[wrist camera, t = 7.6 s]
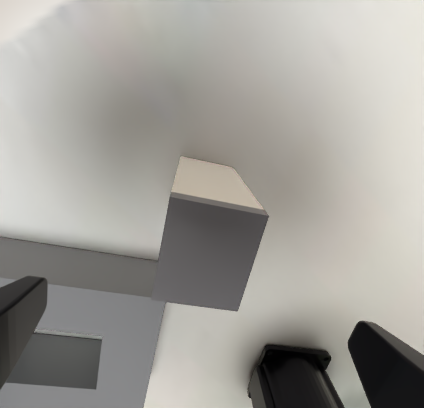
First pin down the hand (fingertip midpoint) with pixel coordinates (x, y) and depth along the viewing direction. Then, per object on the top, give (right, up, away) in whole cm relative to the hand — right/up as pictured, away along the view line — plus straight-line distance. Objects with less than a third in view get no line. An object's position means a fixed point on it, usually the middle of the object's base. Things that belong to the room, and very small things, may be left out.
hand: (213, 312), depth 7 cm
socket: (-13, -5, +13) cm, 19 cm away
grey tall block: (-1, +4, +10) cm, 11 cm away
